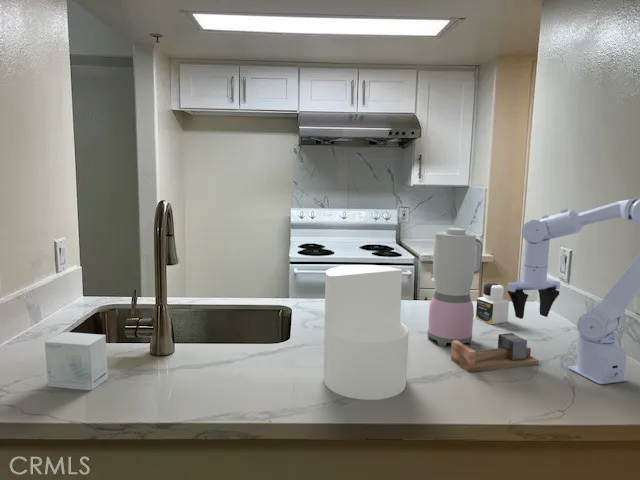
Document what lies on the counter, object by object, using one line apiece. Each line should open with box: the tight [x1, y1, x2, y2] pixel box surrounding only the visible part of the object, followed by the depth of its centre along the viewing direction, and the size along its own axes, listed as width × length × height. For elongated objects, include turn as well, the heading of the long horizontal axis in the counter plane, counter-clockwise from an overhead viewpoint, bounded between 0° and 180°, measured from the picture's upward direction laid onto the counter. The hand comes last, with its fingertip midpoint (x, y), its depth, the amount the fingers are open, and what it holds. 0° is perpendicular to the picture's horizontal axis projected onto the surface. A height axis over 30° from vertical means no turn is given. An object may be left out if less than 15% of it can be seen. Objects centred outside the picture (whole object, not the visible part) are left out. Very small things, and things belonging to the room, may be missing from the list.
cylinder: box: [323, 264, 409, 401], centre depth 105 cm, size 19×19×25 cm
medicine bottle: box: [475, 282, 510, 325], centre depth 152 cm, size 7×7×12 cm
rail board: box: [450, 340, 540, 373], centre depth 118 cm, size 8×20×5 cm, turn 106°
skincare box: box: [44, 331, 109, 391], centre depth 102 cm, size 10×6×10 cm, turn 82°
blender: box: [427, 227, 483, 347], centre depth 132 cm, size 16×12×32 cm
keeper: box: [497, 332, 528, 360], centre depth 119 cm, size 6×4×5 cm
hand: (531, 316), depth 122 cm, fingers open, 7 cm apart
